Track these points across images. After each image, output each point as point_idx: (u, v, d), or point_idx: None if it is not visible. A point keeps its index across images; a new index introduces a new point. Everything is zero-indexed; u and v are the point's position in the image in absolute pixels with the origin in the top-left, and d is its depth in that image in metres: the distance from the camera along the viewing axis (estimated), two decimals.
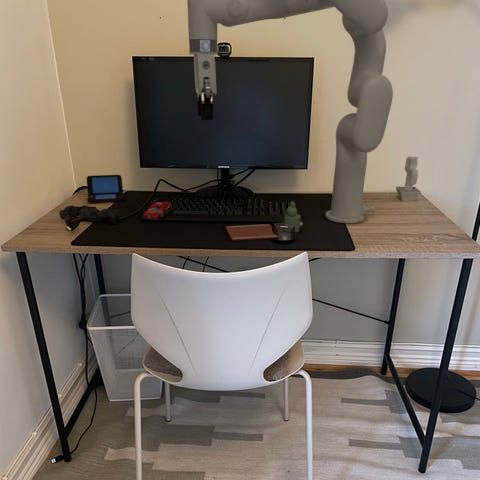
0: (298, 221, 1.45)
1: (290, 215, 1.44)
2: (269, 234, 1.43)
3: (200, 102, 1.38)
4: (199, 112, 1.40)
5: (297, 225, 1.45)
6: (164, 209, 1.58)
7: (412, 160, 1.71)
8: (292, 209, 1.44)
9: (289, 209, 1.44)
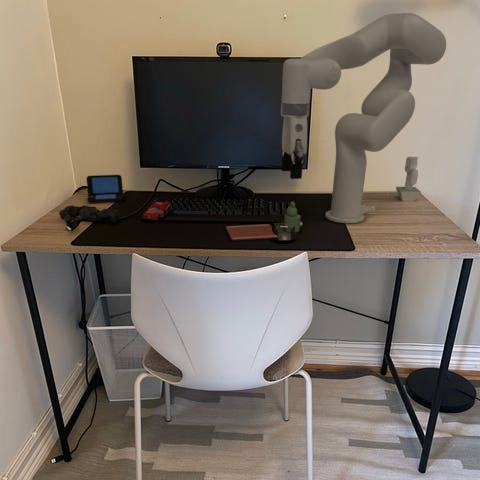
0: (298, 221, 1.45)
1: (290, 215, 1.44)
2: (269, 234, 1.43)
3: (285, 158, 1.42)
4: (283, 168, 1.43)
5: (297, 225, 1.45)
6: (164, 209, 1.58)
7: (412, 160, 1.71)
8: (292, 209, 1.44)
9: (289, 209, 1.44)
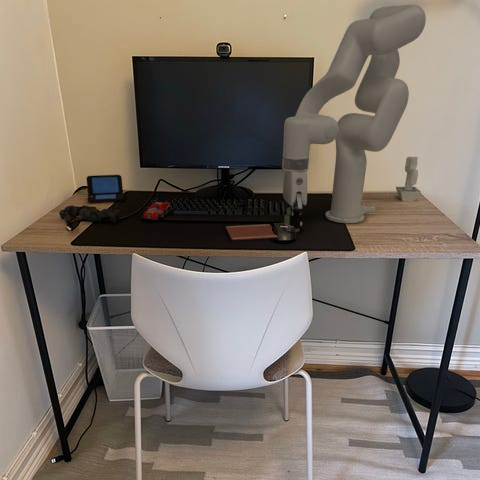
0: None
1: (290, 215, 1.44)
2: (269, 234, 1.43)
3: None
4: None
5: None
6: (164, 209, 1.58)
7: (412, 160, 1.71)
8: None
9: (289, 209, 1.44)
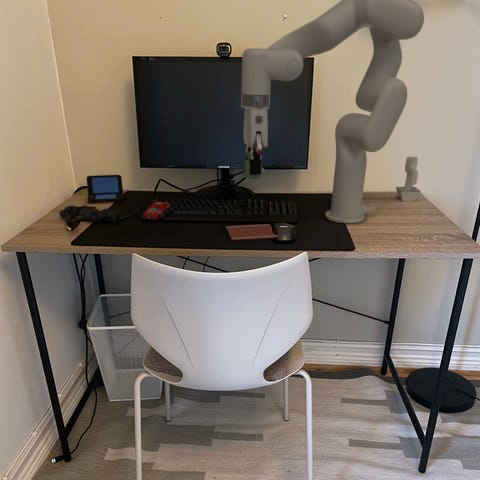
0: None
1: None
2: (269, 234, 1.43)
3: None
4: None
5: None
6: (164, 209, 1.58)
7: (412, 160, 1.71)
8: None
9: (249, 153, 1.34)
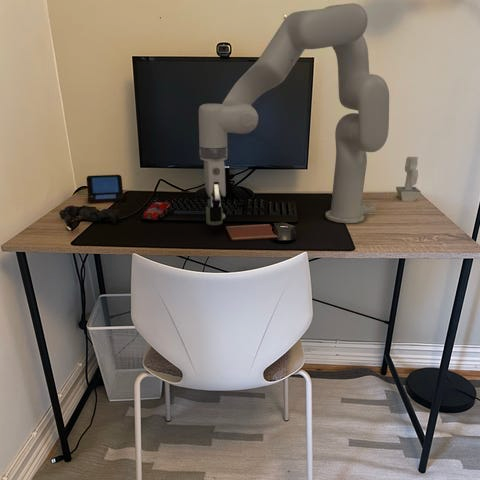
0: None
1: None
2: (269, 234, 1.43)
3: None
4: None
5: None
6: (164, 209, 1.58)
7: (412, 160, 1.71)
8: None
9: (209, 200, 1.38)
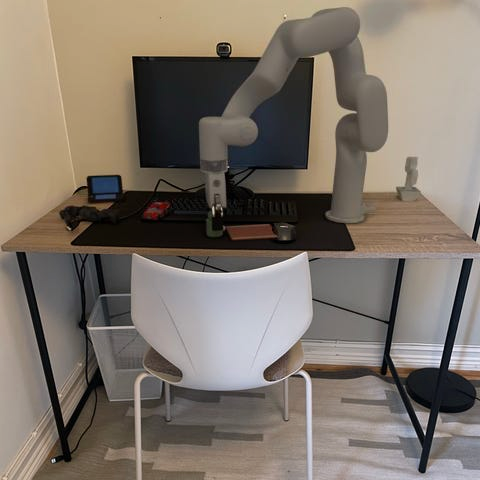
0: None
1: (211, 219, 1.41)
2: (269, 234, 1.43)
3: (210, 208, 1.45)
4: None
5: None
6: (163, 209, 1.58)
7: (412, 160, 1.71)
8: None
9: (210, 213, 1.40)
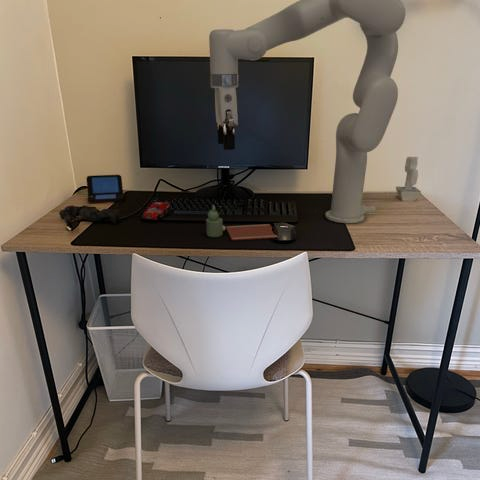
0: (220, 225, 1.41)
1: (211, 219, 1.41)
2: (269, 234, 1.43)
3: (220, 131, 1.44)
4: (219, 140, 1.45)
5: (219, 229, 1.42)
6: (163, 209, 1.58)
7: (412, 160, 1.71)
8: (213, 213, 1.40)
9: (210, 213, 1.40)
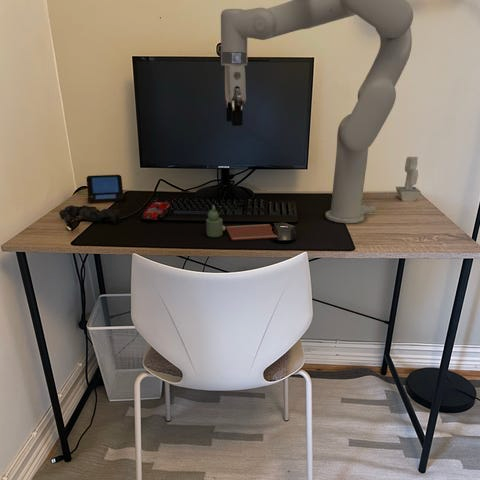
0: (220, 225, 1.41)
1: (211, 219, 1.41)
2: (269, 234, 1.43)
3: (229, 109, 1.50)
4: (228, 118, 1.51)
5: (219, 229, 1.42)
6: (163, 209, 1.58)
7: (412, 160, 1.71)
8: (213, 213, 1.40)
9: (210, 213, 1.40)
